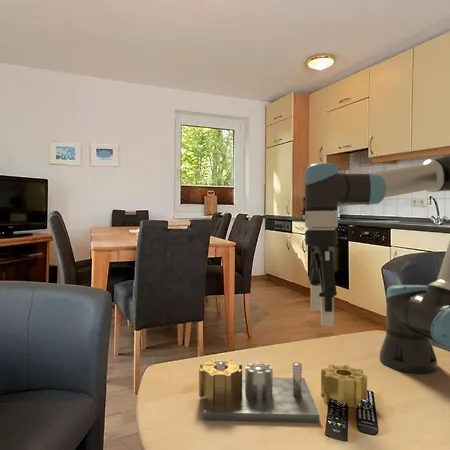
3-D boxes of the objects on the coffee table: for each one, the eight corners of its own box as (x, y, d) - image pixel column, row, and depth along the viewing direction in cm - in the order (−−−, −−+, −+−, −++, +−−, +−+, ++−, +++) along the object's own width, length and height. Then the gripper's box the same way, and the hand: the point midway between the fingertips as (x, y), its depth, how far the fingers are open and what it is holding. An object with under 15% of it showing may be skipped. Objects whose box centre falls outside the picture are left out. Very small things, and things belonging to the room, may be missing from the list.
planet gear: (358, 389, 92) (358, 364, 92) (372, 409, 83) (372, 382, 82) (317, 388, 93) (318, 364, 93) (327, 408, 83) (327, 381, 83)
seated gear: (241, 383, 91) (241, 359, 91) (242, 403, 82) (242, 376, 81) (201, 382, 92) (201, 358, 92) (197, 402, 82) (197, 375, 82)
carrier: (304, 384, 95) (304, 350, 95) (319, 422, 77) (319, 381, 77) (209, 382, 96) (209, 349, 96) (203, 419, 78) (203, 378, 78)
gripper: (298, 228, 102) (298, 305, 102) (314, 230, 77) (314, 332, 78) (326, 227, 102) (326, 305, 102) (351, 230, 77) (351, 333, 77)
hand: (321, 317), depth 90 cm, fingers open, 13 cm apart
